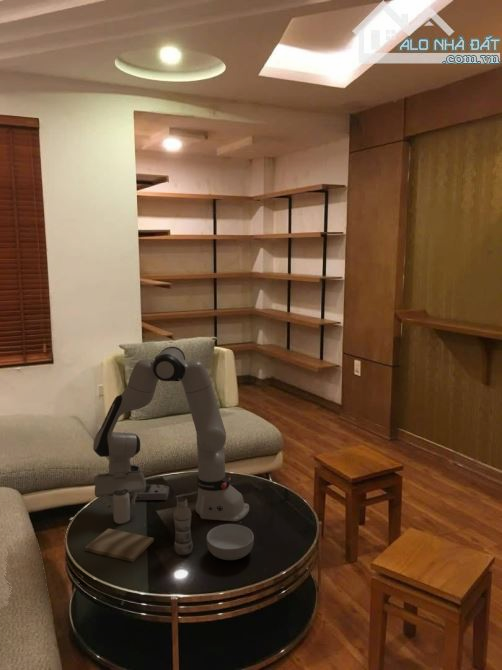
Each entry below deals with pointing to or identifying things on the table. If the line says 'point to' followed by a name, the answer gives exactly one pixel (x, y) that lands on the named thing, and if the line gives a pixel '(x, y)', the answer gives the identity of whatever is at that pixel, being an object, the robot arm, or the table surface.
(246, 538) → the cereal bowl
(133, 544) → the oak board
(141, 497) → the handheld gaming device
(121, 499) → the can
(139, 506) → the table surface
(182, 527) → the plastic bottle
